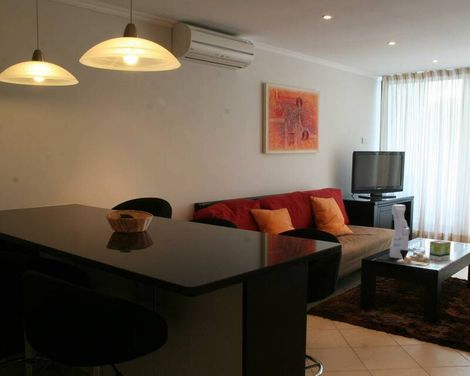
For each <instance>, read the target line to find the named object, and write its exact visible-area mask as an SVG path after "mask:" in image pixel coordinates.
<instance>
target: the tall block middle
mask: <svg viewBox="0 0 470 376" xmlns="http://www.w3.org/2000/svg"><path fill="white" fill-rule="evenodd" d="M415 256H416V261H417V262H423V258H424V253H421V252H417V253H416V254H415Z"/></svg>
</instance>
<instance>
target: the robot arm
mask: <svg viewBox="0 0 470 376" xmlns="http://www.w3.org/2000/svg"><path fill="white" fill-rule="evenodd" d="M405 211H406V205H405V204H392V205H391V215H392V216H393V219H394V235H393V236H392V237H391V241H390V242H391V246H390V248H389V258H394V259H403V260H404V258H405V257H407V255H408V253H410V252H411V253H414V252H415V251H414V250H415V249H413V248H409V235H410V233H411V231H410V229H411V228H410V227H409V226H408V222H407V220H406V219H405Z"/></svg>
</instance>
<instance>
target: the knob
mask: <svg viewBox="0 0 470 376" xmlns="http://www.w3.org/2000/svg"><path fill="white" fill-rule="evenodd" d="M404 261H405V262H411V261H412V258H411V257H409V256H406V257H405V258H404Z"/></svg>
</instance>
